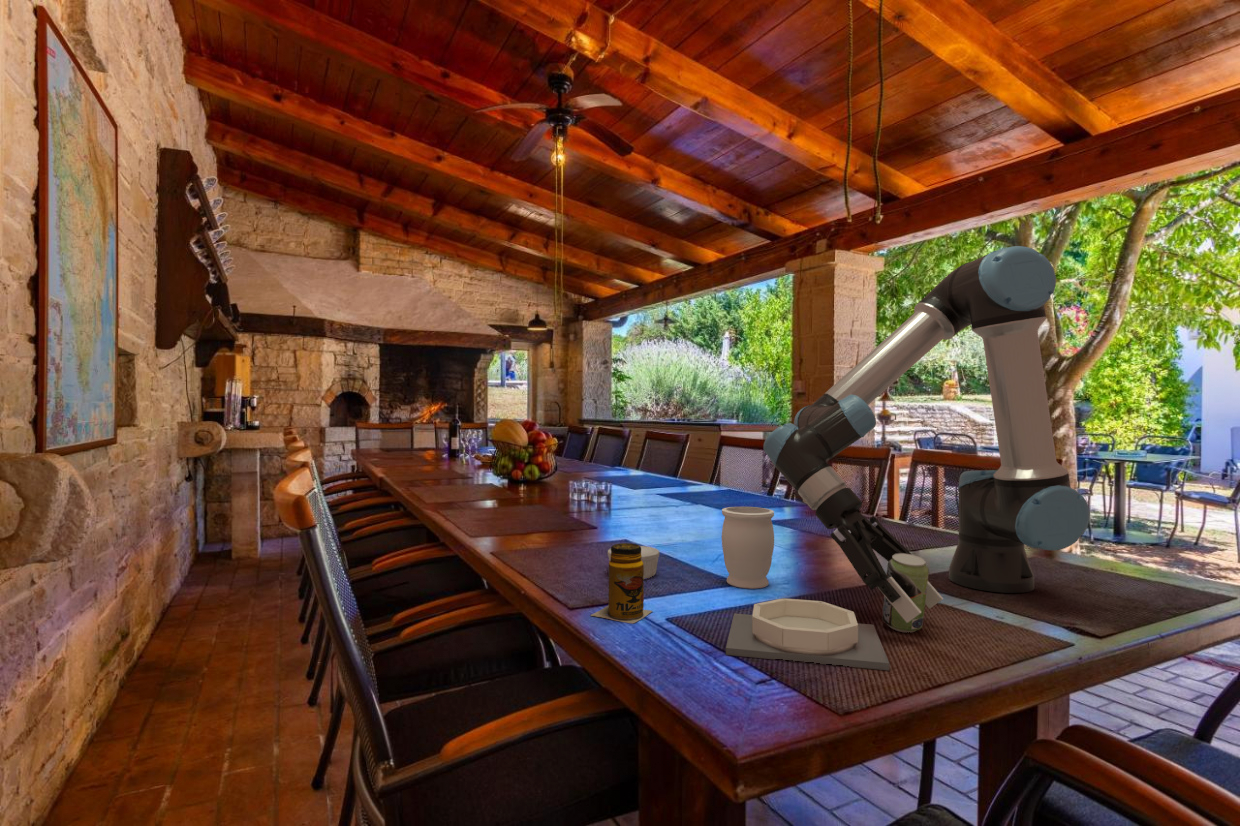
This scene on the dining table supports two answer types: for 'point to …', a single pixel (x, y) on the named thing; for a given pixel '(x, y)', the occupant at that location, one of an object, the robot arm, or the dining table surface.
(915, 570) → the beverage can
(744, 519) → the jar
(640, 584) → the condiment
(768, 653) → the slate board
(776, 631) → the dish
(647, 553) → the ramekin
